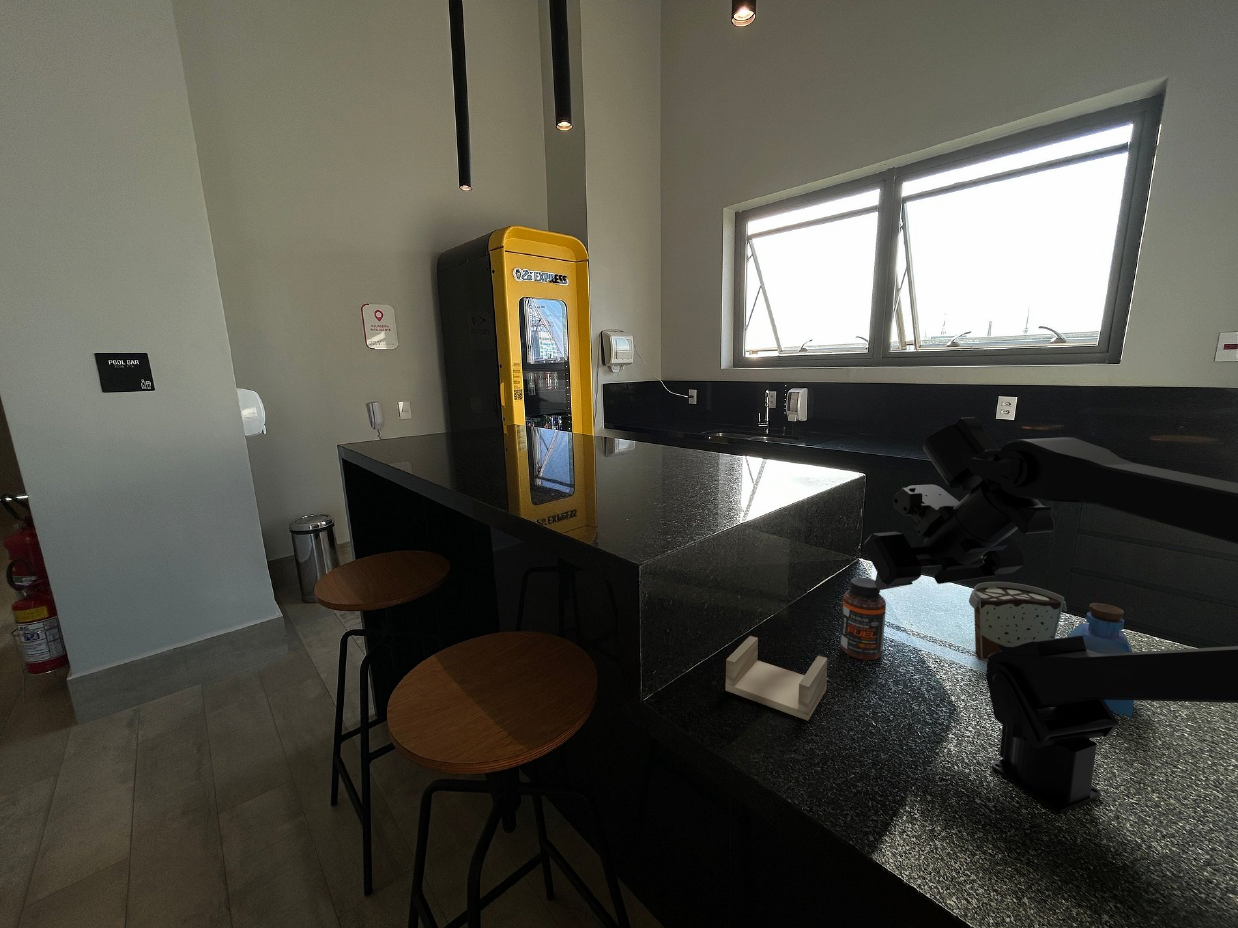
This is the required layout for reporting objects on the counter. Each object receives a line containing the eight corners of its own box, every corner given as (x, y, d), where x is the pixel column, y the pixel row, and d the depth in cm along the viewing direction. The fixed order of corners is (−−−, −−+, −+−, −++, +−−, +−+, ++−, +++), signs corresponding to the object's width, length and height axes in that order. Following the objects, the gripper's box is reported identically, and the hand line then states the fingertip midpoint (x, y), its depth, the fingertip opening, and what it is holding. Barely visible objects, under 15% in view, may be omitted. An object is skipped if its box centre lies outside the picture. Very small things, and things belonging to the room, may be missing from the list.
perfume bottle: (1062, 676, 71) (1072, 594, 69) (1125, 692, 67) (1137, 606, 65) (1064, 697, 66) (1074, 610, 64) (1131, 716, 62) (1144, 624, 60)
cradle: (826, 689, 69) (827, 658, 68) (808, 720, 63) (809, 686, 62) (749, 664, 76) (749, 635, 75) (725, 690, 69) (725, 659, 69)
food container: (1031, 641, 80) (1037, 580, 79) (1060, 662, 74) (1068, 597, 73) (948, 639, 81) (952, 579, 80) (970, 659, 75) (975, 595, 74)
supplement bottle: (842, 659, 76) (845, 587, 75) (837, 640, 82) (840, 572, 80) (886, 664, 75) (891, 591, 73) (878, 644, 80) (882, 576, 79)
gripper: (1006, 462, 65) (935, 529, 77) (874, 470, 62) (822, 538, 73) (1067, 537, 58) (979, 598, 70) (922, 550, 55) (855, 611, 67)
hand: (907, 583), depth 70 cm, fingers open, 9 cm apart
